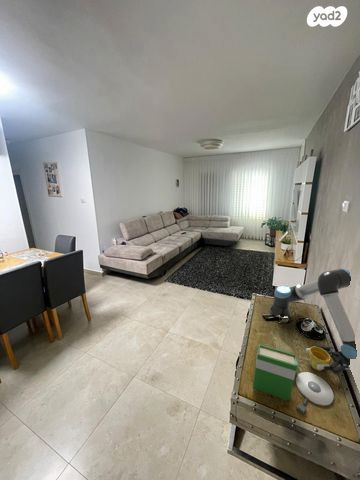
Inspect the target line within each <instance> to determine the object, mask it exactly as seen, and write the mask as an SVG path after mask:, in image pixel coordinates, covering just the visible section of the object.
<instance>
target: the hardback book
mask: <svg viewBox="0 0 360 480" xmlns="http://www.w3.org/2000/svg"><path fill="white" fill-rule="evenodd" d="M294 359H296V353H292V352H288V351H285V350H281V349H278V348H275V347H271V346H267V345H264V344H261V343H258V344H257V352H256V359H255V366H254V374H253V384H252V388H253V389H255V390H257V391H260V392H263V393H266V394H269V395H271V396H274V397H277V398H279V399H282V400H285V401H288V402H290V399H291V394H292V390H293V385H294V381H295V378H296V374H295V373H296V368H297V365H295V363H294Z"/></svg>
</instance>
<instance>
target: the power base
mask: <svg viewBox="0 0 360 480" xmlns="http://www.w3.org/2000/svg"><path fill="white" fill-rule="evenodd" d="M295 378H296V379H295V383H296V388H297V389H298V390H299V392H300V393H301V395H303V396H304V401H303V403H301V402H298V405H297V406H296V411H298V412H299V413H300V414H301V415H304V414H305V412H306V410H307V407H306V405H307V403H308V401H310V402H311V403H313V404H316V405H317V406H318V405H319V406H321V407H322V406H324V407H325V406H329V405H331V404H332V403H333V402H334V391H333V389H332V388H331V387H330V385H329V383H328V382H326V381H325V380H324V379H323V378H321V376H319V375H316V374H315V373H311V372H309V371H303V372H299V373H297V374H296V377H295Z"/></svg>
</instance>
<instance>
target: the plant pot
mask: <svg viewBox="0 0 360 480" xmlns="http://www.w3.org/2000/svg"><path fill="white" fill-rule="evenodd" d="M309 348H310V350H309V353H308V356H309V364H310V366H311V367H312V368H313V369H315V370H316V371H319V372H321V371H323V370H324V369H317V364H329V365H330V361H331V359H332V358H331V357H330V355H329V354H328V353H327V352H326V351H325V350H323V349H322V348H319V347H315V346H311V347H309Z"/></svg>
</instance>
